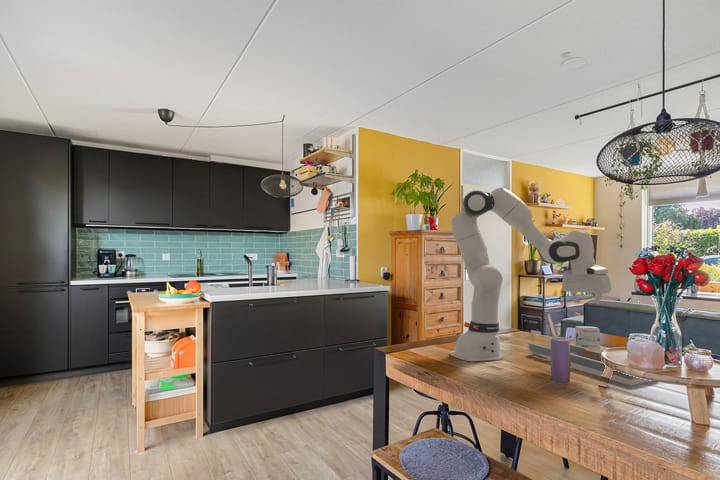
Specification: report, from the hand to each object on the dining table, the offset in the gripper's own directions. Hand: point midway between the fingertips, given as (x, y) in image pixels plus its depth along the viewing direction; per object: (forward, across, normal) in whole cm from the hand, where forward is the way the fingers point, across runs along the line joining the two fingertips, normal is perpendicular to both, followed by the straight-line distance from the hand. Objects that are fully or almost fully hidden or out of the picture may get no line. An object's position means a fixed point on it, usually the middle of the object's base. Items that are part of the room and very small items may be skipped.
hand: (586, 303), depth 158 cm
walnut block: (+22, +6, -5) cm, 24 cm away
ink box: (+24, -12, +12) cm, 30 cm away
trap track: (+24, +2, -6) cm, 25 cm away
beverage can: (+23, +14, -32) cm, 42 cm away
